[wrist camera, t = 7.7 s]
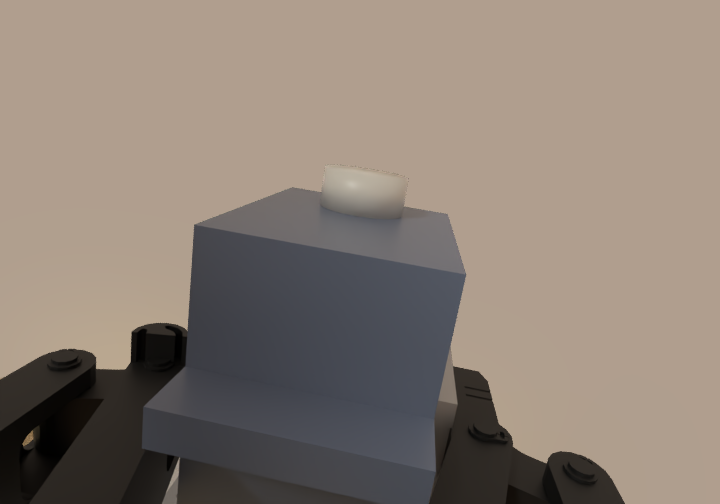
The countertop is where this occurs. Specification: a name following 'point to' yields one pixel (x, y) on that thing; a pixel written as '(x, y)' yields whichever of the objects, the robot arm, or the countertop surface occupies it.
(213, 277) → the servo
